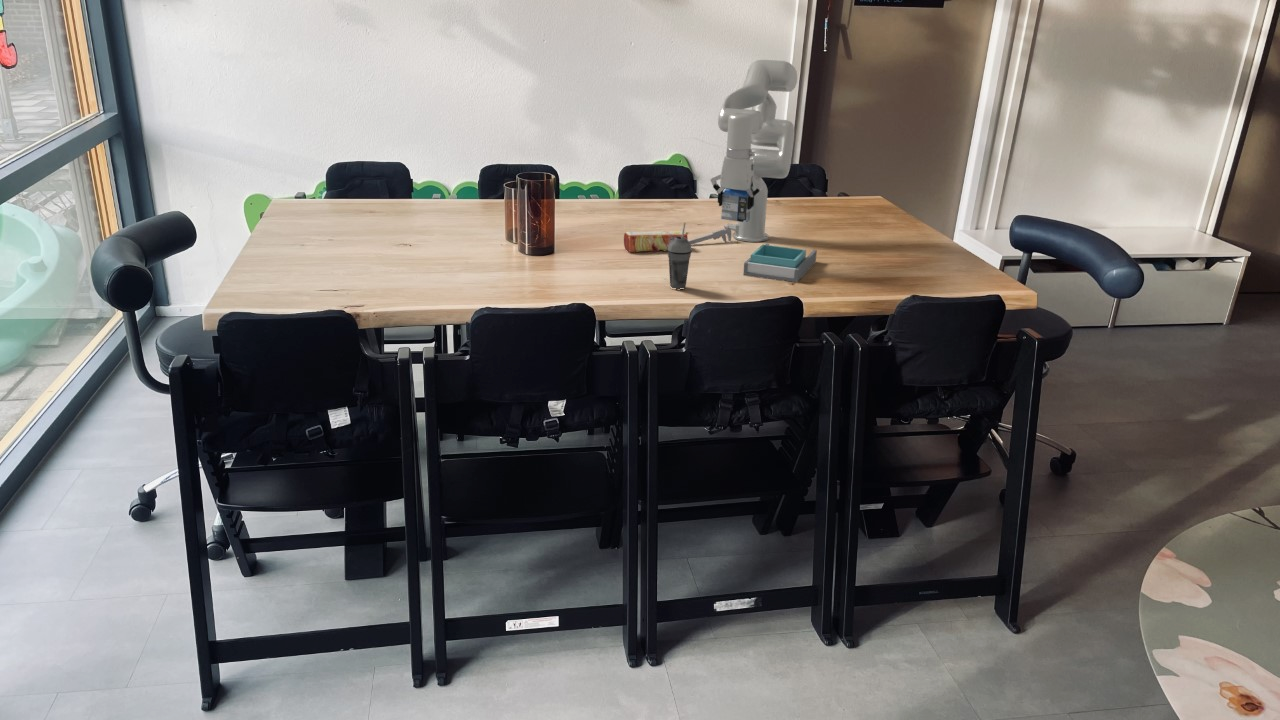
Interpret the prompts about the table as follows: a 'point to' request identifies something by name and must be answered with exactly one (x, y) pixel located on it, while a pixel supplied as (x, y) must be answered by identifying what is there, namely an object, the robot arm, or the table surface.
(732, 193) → the label tape box
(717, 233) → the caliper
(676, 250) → the beverage cup
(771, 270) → the bay
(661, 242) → the snack package
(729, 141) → the robot arm
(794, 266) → the teal square tray
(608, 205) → the table surface
